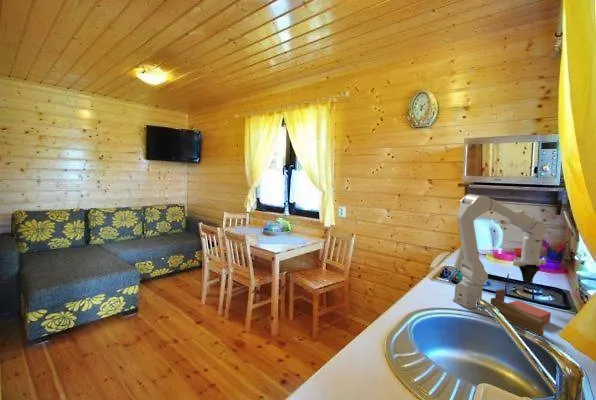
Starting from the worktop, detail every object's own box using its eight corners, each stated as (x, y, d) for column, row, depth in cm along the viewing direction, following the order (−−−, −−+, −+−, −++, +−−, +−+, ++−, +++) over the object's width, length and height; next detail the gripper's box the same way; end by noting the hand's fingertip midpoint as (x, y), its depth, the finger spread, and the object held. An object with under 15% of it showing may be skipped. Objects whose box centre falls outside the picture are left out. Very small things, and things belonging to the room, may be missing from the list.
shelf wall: (538, 336, 99) (540, 321, 98) (489, 310, 116) (491, 298, 115) (543, 335, 99) (544, 321, 99) (493, 310, 116) (495, 297, 116)
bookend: (495, 310, 116) (497, 290, 115) (493, 309, 117) (496, 290, 116) (503, 309, 117) (505, 289, 116) (501, 308, 118) (503, 289, 117)
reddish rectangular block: (537, 328, 105) (539, 317, 104) (504, 314, 114) (505, 304, 114) (549, 323, 108) (550, 312, 108) (516, 309, 118) (517, 300, 117)
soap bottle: (456, 272, 158) (459, 234, 156) (451, 265, 170) (454, 229, 168) (482, 275, 155) (486, 236, 153) (476, 267, 167) (480, 231, 164)
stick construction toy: (462, 282, 139) (456, 266, 143) (448, 286, 143) (443, 270, 148) (476, 285, 145) (470, 269, 149) (462, 289, 149) (457, 273, 153)
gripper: (527, 253, 113) (523, 288, 115) (555, 251, 117) (550, 285, 119) (509, 248, 120) (505, 281, 122) (536, 246, 124) (532, 278, 126)
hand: (526, 282), depth 121 cm, fingers closed
